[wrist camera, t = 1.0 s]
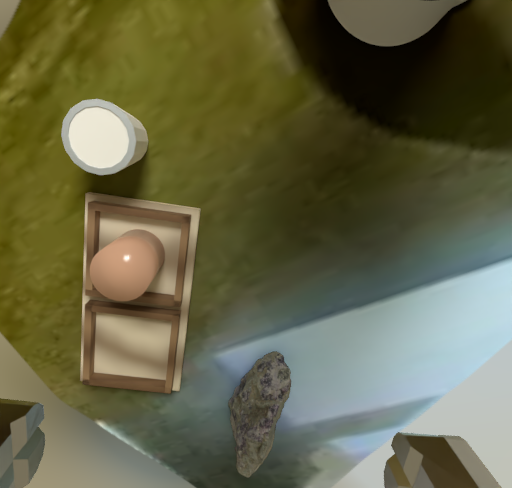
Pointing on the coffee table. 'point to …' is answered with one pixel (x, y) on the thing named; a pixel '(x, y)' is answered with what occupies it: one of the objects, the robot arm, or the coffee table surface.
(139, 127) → the white cylinder
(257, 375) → the mineral rock
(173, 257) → the divided wooden tray
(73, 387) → the coffee table surface
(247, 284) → the coffee table surface
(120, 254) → the tan rounded cylinder
